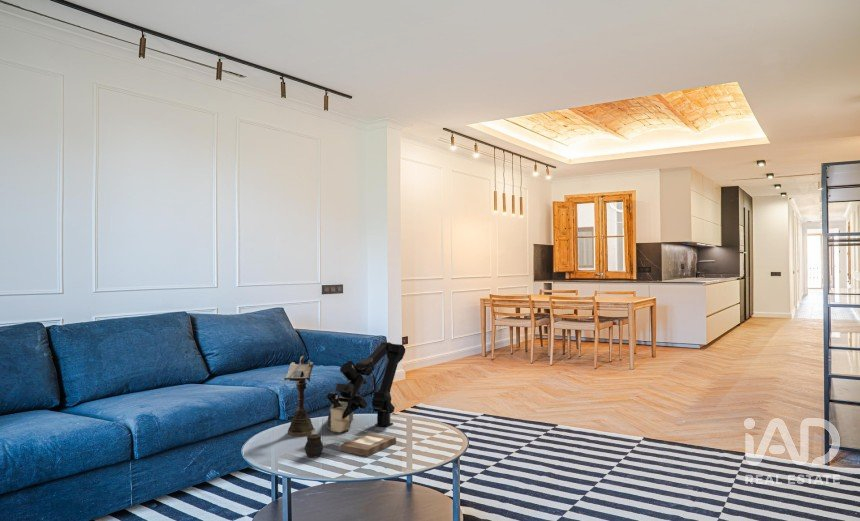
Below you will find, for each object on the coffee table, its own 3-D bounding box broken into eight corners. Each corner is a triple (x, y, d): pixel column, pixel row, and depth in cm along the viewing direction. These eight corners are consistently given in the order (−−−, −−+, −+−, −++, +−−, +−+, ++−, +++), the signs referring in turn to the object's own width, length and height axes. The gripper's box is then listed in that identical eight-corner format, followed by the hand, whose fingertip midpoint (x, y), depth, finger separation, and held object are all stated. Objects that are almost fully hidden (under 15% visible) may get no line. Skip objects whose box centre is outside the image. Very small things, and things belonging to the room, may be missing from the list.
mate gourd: (321, 458, 229) (321, 433, 229) (302, 458, 229) (302, 433, 229) (324, 452, 236) (324, 428, 236) (306, 452, 236) (306, 428, 236)
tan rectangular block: (340, 429, 255) (339, 406, 255) (349, 431, 253) (349, 407, 253) (330, 433, 250) (330, 409, 250) (340, 434, 247) (340, 410, 248)
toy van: (354, 417, 292) (354, 397, 292) (350, 431, 267) (350, 409, 267) (332, 418, 291) (332, 398, 291) (326, 432, 266) (326, 410, 267)
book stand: (310, 440, 254) (309, 358, 254) (280, 439, 255) (280, 358, 255) (321, 429, 270) (321, 353, 271) (293, 429, 271) (293, 353, 272)
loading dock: (369, 438, 256) (369, 432, 256) (396, 443, 249) (396, 436, 249) (339, 450, 239) (339, 444, 239) (367, 456, 231) (367, 449, 232)
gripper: (329, 373, 260) (312, 404, 250) (362, 377, 250) (346, 409, 241) (340, 388, 266) (324, 418, 257) (374, 392, 257) (358, 424, 247)
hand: (337, 417), depth 250 cm, fingers closed on tan rectangular block, 5 cm apart
